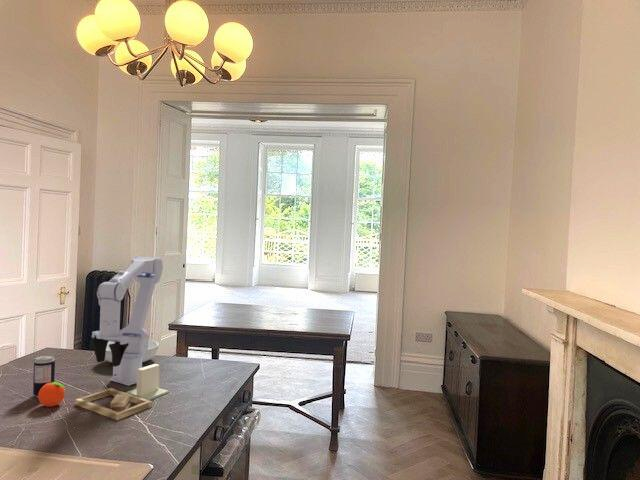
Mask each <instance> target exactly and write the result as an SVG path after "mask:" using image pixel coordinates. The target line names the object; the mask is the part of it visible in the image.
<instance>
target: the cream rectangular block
mask: <svg viewBox="0 0 640 480" xmlns="http://www.w3.org/2000/svg"><path fill="white" fill-rule="evenodd" d="M159 388H160V364H157V363H153V364H150V365H147V366H142V368H139V369H137V383H136V389H137V394H138V395H144V394H147V393H149V392H152V391H155V390H158V389H159Z"/></svg>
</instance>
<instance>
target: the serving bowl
mask: <svg viewBox="0 0 640 480" xmlns="http://www.w3.org/2000/svg"><path fill="white" fill-rule="evenodd" d="M114 343H115V342H112V341H108V344H107V347H106V353H105V360H106V361H107V362H109V363H112V353H111V349H110V347H109V344H114ZM158 349H159V343H158V341H155V340H153V339H149V340H148V349H147V351H146V353H145V354H144V355H142V363H146V362H148V361H150V360H151V359H152V358H154V357H155V356H156V355H157V352H158Z"/></svg>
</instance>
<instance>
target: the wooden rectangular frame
mask: <svg viewBox="0 0 640 480" xmlns="http://www.w3.org/2000/svg"><path fill="white" fill-rule="evenodd" d="M117 394H128V393H126V392H124V391H121V390H119V389H115V388H112V387H110V388H108V389H104V390H101V391H98V392H97V391H96V392H94V393H92V394H89V395H85V396H82V397H79V398H76V399H75V405H76V406H77V407H80V408H83V409H86V410H89V411H91V412H93V413H97V414H99V415H101V416H105V417H106V418H110V419H113V420H115V421H119V420H122V419H124V418H127V417H129V416H132V415H133V414H137V413H139V412H141V411H144V410H147V409H149V408H151V407H153V401H152V400H147V399H144V398H141V397H137V396H134V395H131V394H130V402H131V403H134V404H135V405H134V406H130V407H129V408H128V409H125V410H123V411H120V412H116V411H113V410H112V408H111V409H110V408H109V407H108V408H107V407H105V406H102V405H99V404H96V403H93V401H96V400H99V399H101V398H105V397H108V396H112V397H115V396H116V395H117Z"/></svg>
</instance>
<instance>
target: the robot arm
mask: <svg viewBox="0 0 640 480" xmlns="http://www.w3.org/2000/svg"><path fill="white" fill-rule="evenodd" d="M163 263H164V262H163V260H162V258H161V257H148V256H136V255H135V256H134V257H132V259H131V260H130V265H129V266H128V268H127V269H125V270H119V271H118V272H117V274H115V275H114V276H113V277H112V278H111V279H110V280H109V281H104V282H102V283H100V284H99V285H98V287H97V291H96V297H97V301H98V306H100V309H99V310H100V311H99V315H100V316H99V330H95V331H92V332H91V340H89V343H90V345H91V346H92V348H93V350H94V351H93V352H94V355H95V358H96V362H97V363H102V362H105V360H106V359H105V353H106V347H107V344H108V342H110V341H112V342H115V343H114V344H109V347H110V349H111V353H112V378H110V381H112V382H115V383H119V384H121V385H125V386H128V387H129V386H133V385H134V384H137V369H139V368H142V367H143V362H142V355H144V354H145V353H146V351H147V349H148V340H150V335H149V333H148V331H146V330H145V329H144V327H145V323H146V320H147V316H148V312H149V308H150V306H151V301H152V299H153V298H152V297H153V294H154V291H155V286H156V285H157V284H158V283H159V282H160V281H161V277H162V273H163V270H164V265H163ZM134 281H136V282H137V283H139V288H138V292H137V295H136V297H135V301H134V305H133V308H132V311H131V314H130V315H131V316H130V319H129V322H128V325H127V326H125V327H124V328H122V329H120V327H121V326H120V325H121V301H122V300H123V299H124V298H125V294H126V292H127V290H128V289H129V288H130V287H131V286H132V285H133V283H134Z"/></svg>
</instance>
